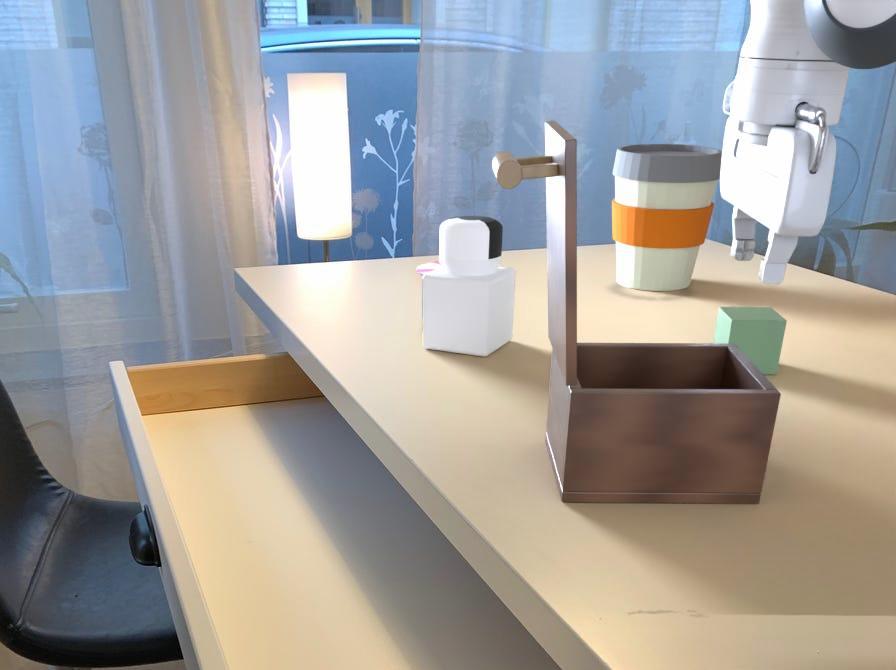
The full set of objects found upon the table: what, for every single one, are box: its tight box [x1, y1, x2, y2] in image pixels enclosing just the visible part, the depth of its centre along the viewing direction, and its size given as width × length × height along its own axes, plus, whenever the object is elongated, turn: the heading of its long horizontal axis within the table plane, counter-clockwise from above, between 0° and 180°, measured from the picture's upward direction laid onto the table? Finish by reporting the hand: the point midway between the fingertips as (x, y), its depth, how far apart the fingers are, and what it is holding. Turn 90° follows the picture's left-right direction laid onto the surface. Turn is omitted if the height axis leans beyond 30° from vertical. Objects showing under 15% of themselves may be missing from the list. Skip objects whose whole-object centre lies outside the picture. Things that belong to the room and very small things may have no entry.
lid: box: [491, 120, 578, 386], centre depth 67 cm, size 14×12×4 cm
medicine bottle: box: [421, 214, 517, 357], centre depth 100 cm, size 7×7×12 cm
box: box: [545, 342, 782, 505], centre depth 73 cm, size 14×12×8 cm
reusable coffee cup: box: [611, 143, 722, 292], centre depth 123 cm, size 13×13×15 cm
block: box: [712, 306, 788, 376], centre depth 96 cm, size 5×5×5 cm
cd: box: [416, 260, 442, 276], centre depth 132 cm, size 11×11×1 cm
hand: (754, 270), depth 92 cm, fingers open, 8 cm apart
